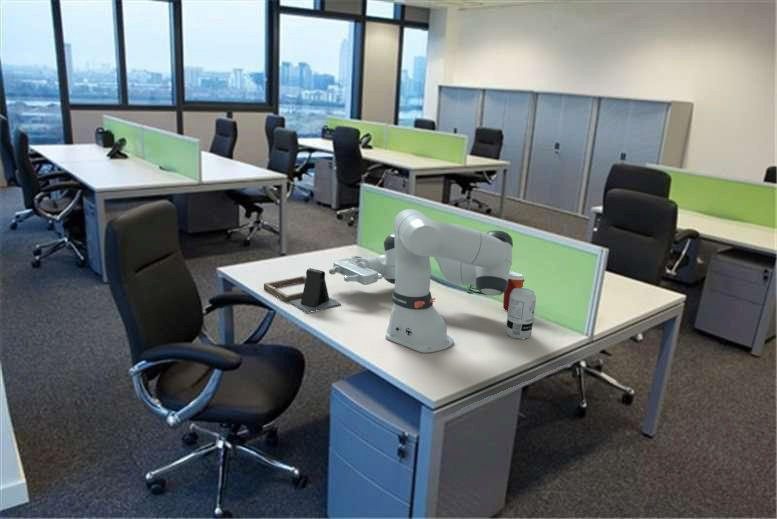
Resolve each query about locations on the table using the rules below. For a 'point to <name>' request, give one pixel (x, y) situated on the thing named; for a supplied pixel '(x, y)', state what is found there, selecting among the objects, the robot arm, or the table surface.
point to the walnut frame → (277, 292)
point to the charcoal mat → (308, 308)
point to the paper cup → (512, 286)
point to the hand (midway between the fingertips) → (337, 275)
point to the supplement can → (520, 313)
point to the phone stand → (314, 288)
